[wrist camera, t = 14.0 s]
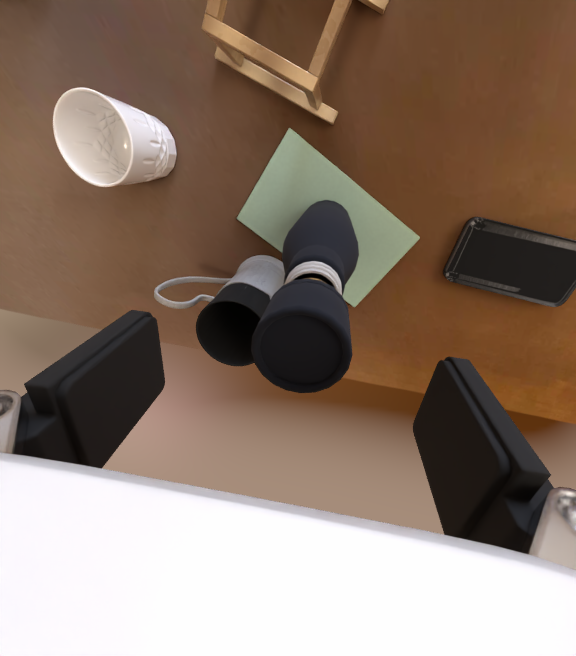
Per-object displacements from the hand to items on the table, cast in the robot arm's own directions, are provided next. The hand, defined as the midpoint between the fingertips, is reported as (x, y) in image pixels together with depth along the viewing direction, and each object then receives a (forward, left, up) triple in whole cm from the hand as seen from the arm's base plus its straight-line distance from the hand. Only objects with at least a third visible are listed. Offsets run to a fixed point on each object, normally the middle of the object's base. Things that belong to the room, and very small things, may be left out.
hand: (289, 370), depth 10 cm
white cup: (-23, -6, -32) cm, 40 cm away
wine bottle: (0, 0, -32) cm, 32 cm away
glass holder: (-4, -12, -32) cm, 34 cm away
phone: (+21, +10, -32) cm, 40 cm away
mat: (0, 0, -32) cm, 32 cm away
